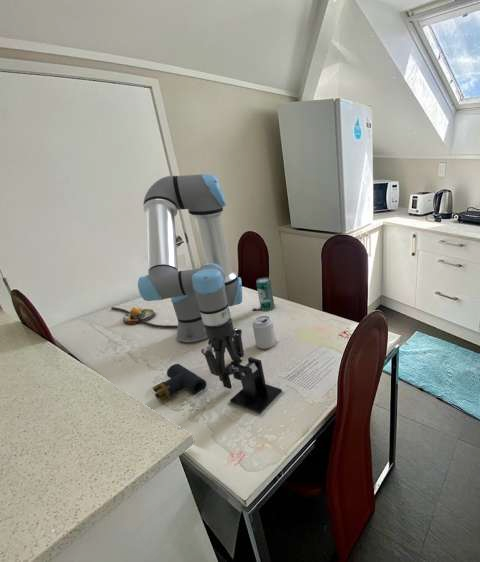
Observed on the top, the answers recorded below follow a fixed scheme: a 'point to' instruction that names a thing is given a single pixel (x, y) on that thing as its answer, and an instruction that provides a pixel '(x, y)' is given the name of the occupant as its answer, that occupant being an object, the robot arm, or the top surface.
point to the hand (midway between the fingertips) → (233, 382)
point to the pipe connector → (179, 383)
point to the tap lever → (232, 369)
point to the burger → (138, 315)
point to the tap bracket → (254, 389)
